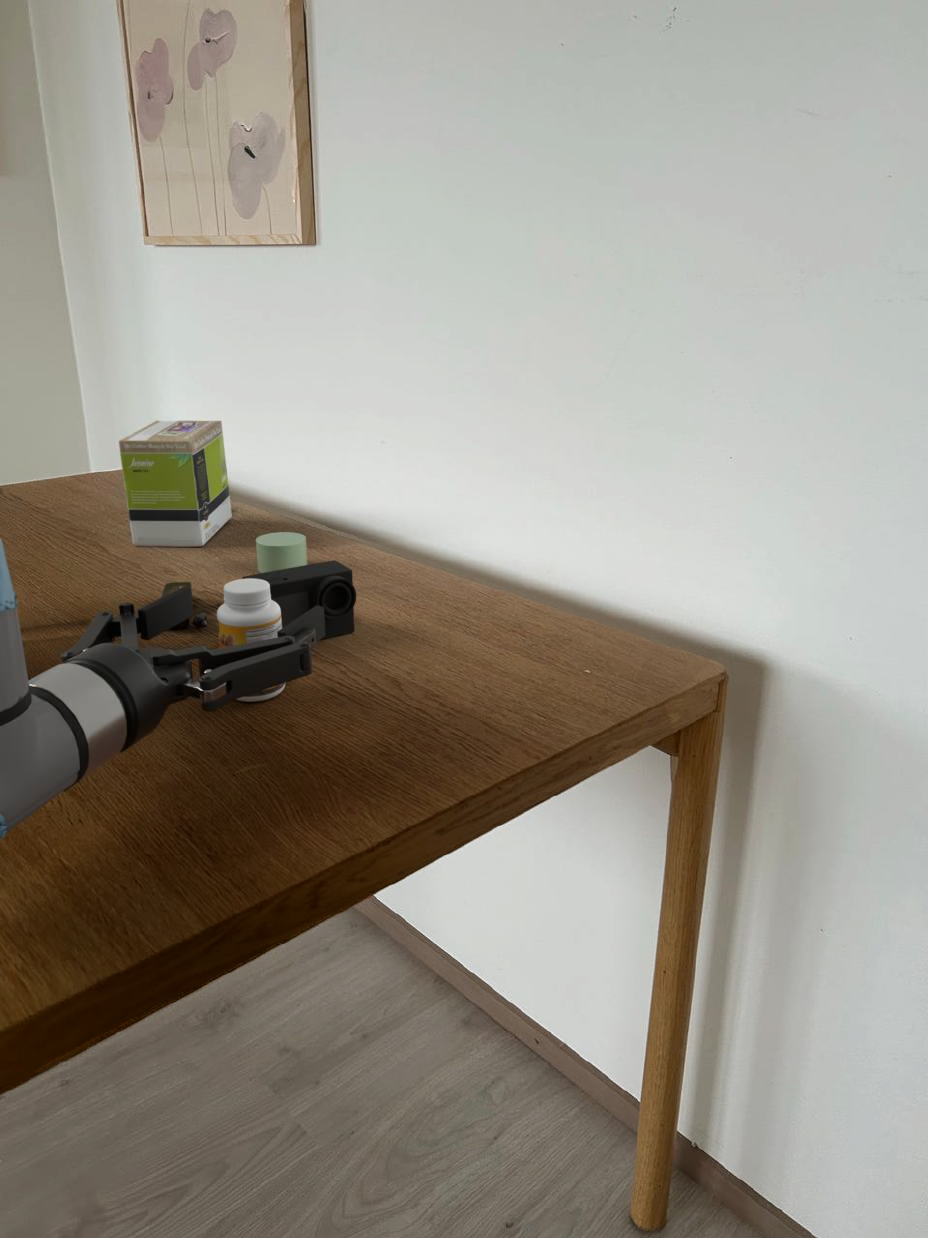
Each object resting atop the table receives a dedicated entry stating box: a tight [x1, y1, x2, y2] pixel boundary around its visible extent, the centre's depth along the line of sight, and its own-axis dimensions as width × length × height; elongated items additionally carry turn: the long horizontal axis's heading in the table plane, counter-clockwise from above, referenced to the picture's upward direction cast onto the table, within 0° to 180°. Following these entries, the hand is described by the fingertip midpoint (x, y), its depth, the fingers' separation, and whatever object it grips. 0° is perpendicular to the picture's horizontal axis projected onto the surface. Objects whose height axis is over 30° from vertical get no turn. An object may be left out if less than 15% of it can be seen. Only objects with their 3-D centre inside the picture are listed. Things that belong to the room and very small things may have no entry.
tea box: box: [118, 420, 233, 548], centre depth 133 cm, size 15×10×15 cm
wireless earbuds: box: [161, 581, 208, 630], centre depth 103 cm, size 5×7×3 cm, turn 11°
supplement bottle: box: [216, 578, 286, 703], centre depth 85 cm, size 6×6×10 cm
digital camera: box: [241, 559, 357, 641], centre depth 98 cm, size 10×5×7 cm, turn 124°
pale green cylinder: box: [255, 531, 309, 573], centre depth 116 cm, size 6×6×5 cm
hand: (253, 610), depth 85 cm, fingers open, 13 cm apart
